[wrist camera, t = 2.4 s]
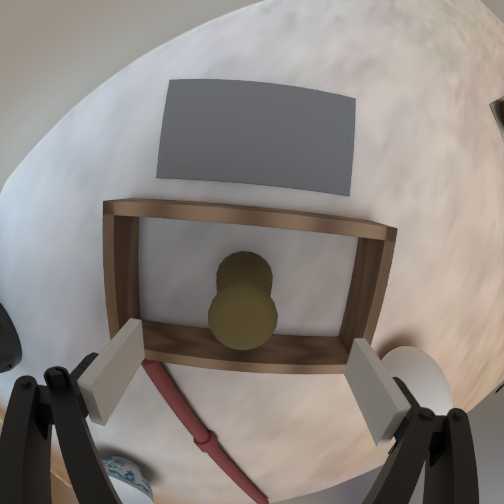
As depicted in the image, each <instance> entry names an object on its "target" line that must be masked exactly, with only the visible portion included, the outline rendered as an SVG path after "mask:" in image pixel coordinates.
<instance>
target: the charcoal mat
mask: <svg viewBox="0 0 504 504" xmlns="http://www.w3.org/2000/svg"><path fill="white" fill-rule="evenodd" d="M355 106H356V99H355V98H351V97H346V96H342V95H338V94H333V93H329V92H324V91H319V90H313V89H308V88H302V87H295V86H288V85H281V84H273V83H264V82H253V81H240V80H220V79H178V80H170V81H169V86H168V92H167V98H166V104H165V110H164V116H163V123H162V130H161V138H160V146H159V155H158V165H157V176H156V178H175V179H195V180H211V181H225V182H238V183H249V184H259V185H269V186H278V187H287V188H295V189H303V190H311V191H318V192H325V193H332V194H338V195H345V196H349V195H350V186H351V175H352V163H353V150H354V133H355Z"/></svg>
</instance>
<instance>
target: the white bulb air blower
mask: <svg viewBox="0 0 504 504" xmlns="http://www.w3.org/2000/svg"><path fill="white" fill-rule="evenodd" d="M381 362H382V363H383V365H384V366H385V368H386V369H387V371H388V372H389V374H390V375H391V377H398V378H399V379H401V380H402V381H403V382H404V383H405V384H406V386H407V388H408V389H409V390H410V393H412V394H413V396H414V397H415V399H416V400H417V402H418V403H419V405H420V406H421V407H425V408H429V409H431V410H432V411H433V412H434V413H435V415H447V413H448V412H449V410H450V409H452V408H453V403H452V396H451V391H450V387H449V384H448V382H447V379H446V377H445V375H444V373H443V371H442V370H441V368H440V367H439V365H438V364H437V363H436V362H435V360H434V359H433V358H431V357H430V356H429V355H428V354H427V353H425V352H424V351H422V350H420V349H418V348H415V347H411V346H400V347H397V348H395V349H393V350H391V351H390V352H388V353H387V354H386V355H385V356H384V357H383V358H382V360H381Z"/></svg>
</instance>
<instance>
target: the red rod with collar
mask: <svg viewBox="0 0 504 504" xmlns="http://www.w3.org/2000/svg"><path fill="white" fill-rule="evenodd" d="M142 366H143V368H144V369H145V371H146V373H147V374H148V376H149V377H150V379H151V380H152V382H153V383H154V385H155V386H156V388H157V389H158V391H159V392H160V393H161V395H162V396H163V398H164V399H165V401H166V402H167V403H168V405H169V406H170V408H171V409H172V410H173V412H174V413H175V414H176V416H177V417H178V418H179V420H180V421H181V422H182V423H183V425H184V426H185V427H186V428H187V430H188V431H189V432H190V433H191V435H192V436H193V437H194V439H193V440H194V443H195V444H196V445H197V446H198V447H199V448H200V450H201V451H202V452H205V453H207V454H208V455H209V456H210V457H211V458H212V459H213V460H214V461H215V462H216V463H217V465H218V466H219V467H220V468H221V469H222V470H223V471H224V472H225V473H226V474H227V475H228V476H229V477H230V478H231V479H232V480H233V481H234V482H235V483H236V484H237V485H238V486H239V487H240V488H241V489H242V490H243V491H244V492H245V493H246V494H247V495H248V496H250V497H251V498H252V499H253V500H254V501H255V502H256V503H257V504H269V501H268V500H267V499H266V498H265V497H264V496H263V495H262V494H261V493H260V492H259V491H258V490H257V489H256V488H255V487H254V486H253V485H252V484H251V483H250V482H249V481H248V479H247V478H246V477H245V476H244V475H243V474H242V473H241V472H240V471H239V470H238V468H237V467H236V466H235V465H234V464H233V463H232V462H231V460H230V459H229V458H228V457H227V456H226V455H225V453H224V452H223V451H222V450H221V449H220V447H219V446H218V440H217V439H216V438H215V437H214V435H213V434H212V433H211V432H210V431H206V429H205V428H204V427H203V426H202V424H201V423H200V421H199V420H198V419H197V417H196V416H195V415H194V413H193V412H192V410H191V409H190V408H189V406H188V405H187V403H186V402H185V400H184V399H183V397H182V396H181V395H180V393H179V392H178V390H177V389H176V387H175V385H174V384H173V382H172V381H171V379H170V378H169V376H168V375H167V373H166V371H165V370H164V368H163V366H162V365H161V363H160V361H155V360H149V359H144V360H143V361H142Z"/></svg>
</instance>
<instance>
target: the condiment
mask: <svg viewBox="0 0 504 504" xmlns="http://www.w3.org/2000/svg"><path fill="white" fill-rule="evenodd" d="M490 105H491V108H492V111H493V113H494V116H495V118H496V121H497V124H498V126H499V130H500V132H501V134H502V137H503V140H504V97H502V98H500V99H498V100H497V101H495V102H493V103H491V104H490Z"/></svg>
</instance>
